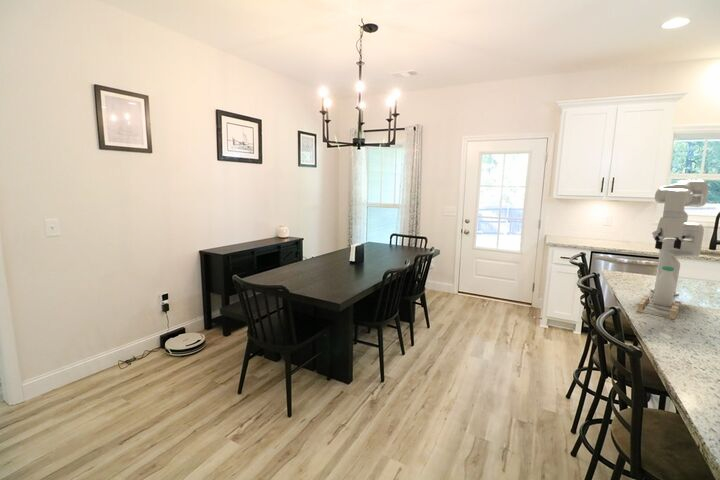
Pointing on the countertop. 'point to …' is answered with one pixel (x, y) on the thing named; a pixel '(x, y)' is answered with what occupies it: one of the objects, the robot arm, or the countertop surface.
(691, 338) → the countertop surface
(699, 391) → the countertop surface
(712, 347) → the countertop surface
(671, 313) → the cradle
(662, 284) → the milk bottle
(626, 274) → the countertop surface
